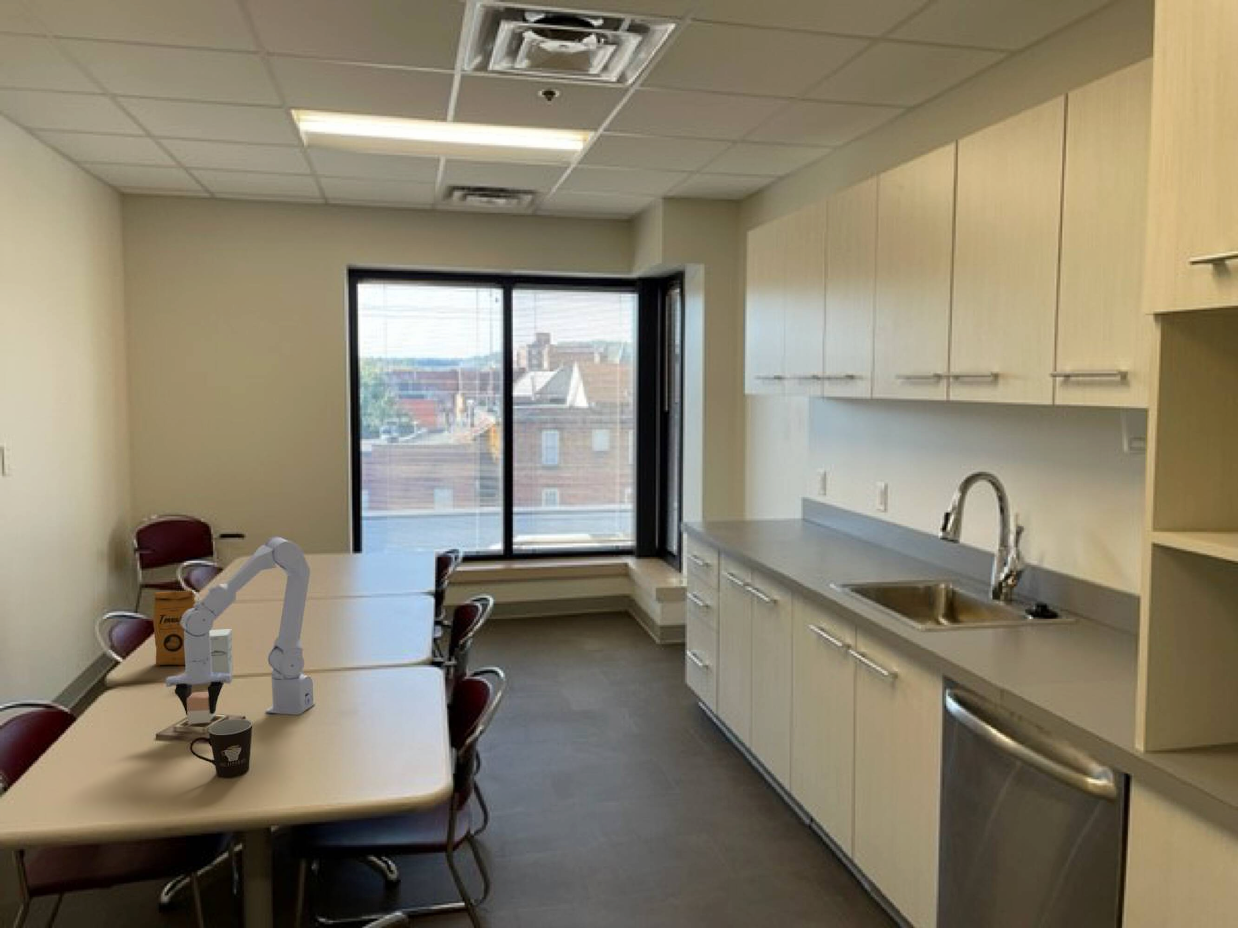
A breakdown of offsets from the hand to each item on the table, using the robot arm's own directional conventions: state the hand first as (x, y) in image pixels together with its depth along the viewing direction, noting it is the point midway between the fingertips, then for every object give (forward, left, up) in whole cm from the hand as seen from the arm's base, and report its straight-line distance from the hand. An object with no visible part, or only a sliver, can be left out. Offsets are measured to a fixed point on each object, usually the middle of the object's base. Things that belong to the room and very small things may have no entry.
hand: (201, 713), depth 210 cm
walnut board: (0, 0, -4) cm, 4 cm away
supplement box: (+22, -36, -4) cm, 42 cm away
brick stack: (0, 0, -2) cm, 2 cm away
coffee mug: (-21, +20, -4) cm, 29 cm away
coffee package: (+41, -44, -4) cm, 60 cm away
